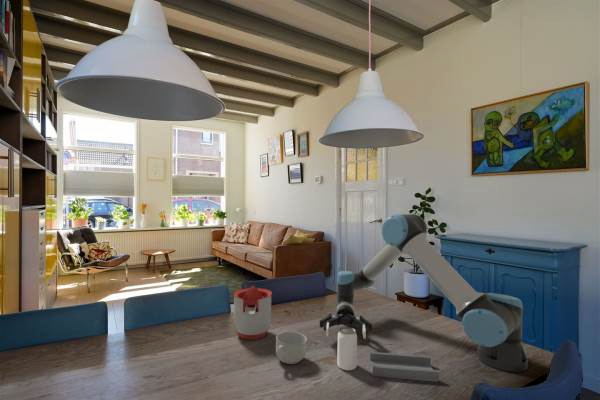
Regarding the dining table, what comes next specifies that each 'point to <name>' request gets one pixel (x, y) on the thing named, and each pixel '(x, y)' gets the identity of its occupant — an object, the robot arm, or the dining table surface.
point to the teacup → (290, 347)
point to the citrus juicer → (252, 312)
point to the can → (347, 349)
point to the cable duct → (402, 366)
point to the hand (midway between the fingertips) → (345, 333)
